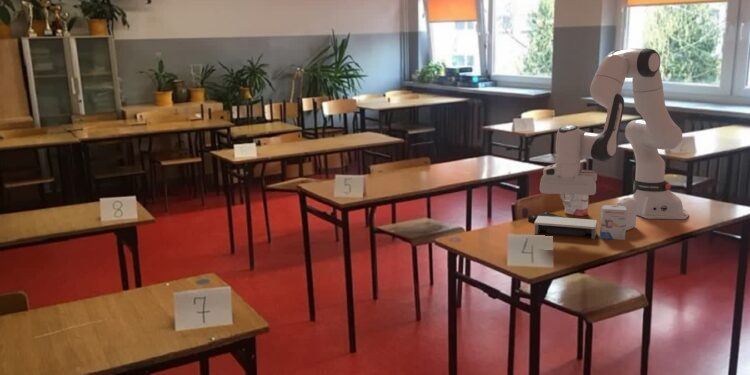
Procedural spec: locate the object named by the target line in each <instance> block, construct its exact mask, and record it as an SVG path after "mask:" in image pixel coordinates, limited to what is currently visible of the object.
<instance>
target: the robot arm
mask: <svg viewBox="0 0 750 375" xmlns="http://www.w3.org/2000/svg"><path fill="white" fill-rule="evenodd" d="M661 63H662V62H661V57H660V55H659V53H658V51H656V49H653V48H649V47H648V48H629V49H622V50H613V51H611V52H609V53H607V55H606V56H605V57H603V59H602V61H601V63H600V64H599V66H598V68H597V70H596V71H595V74H594V76H593V78H592V81H591V84H590V86H589V93H590V97H591V98H592V100H593V101H594V102H595V103H597V104H598V105H599V106H602V107H603V108H605V109H606V112H607V113H606V117H605V123H604V127H603V130H602V132H601V131H600V133H599V132H598V133H596V132H589V131H584V130H582V129H580V127H579V126H578V125H577V124H576V125H575V124H568V125H563V126H561V127H559V128H558V130H557V131H556V132H557V133H556V139H555V153H556V159H555V163H554V164H550V165H547V166H545V167H544V168H543V171H542V173H543V174H542V176H541V178H540V181H539V191H540V193H541V194H552V195H553V194H556V195H559V197H560V199H561V200H562V205H563V206H565V205H568V206H571V203H572V200H573V198H574V196H575V194H576V195H588V196H594V195H595V194H596V192H597V184H596V182H597V179H598V174H597V172H596V171H594V169H581V158H583V159H590V160H595V161H599V162H602V163H605V162H608V161H609V160H611V159H613V157H615V155H616V153H617V150H618V139H619V132H620V129H621V128H620V127H621V123H622V119H623V114H624V108H625V100H624V99H625V98H624V97H623V96H622V88H623V87H624V84H625V82H626V79H631V78H632V92H633V104H634V108H635V111H636V112H637V113H638V114H639V115H640V117H642V119H641V118H639V119H633V120H631V121H629V122H628V123H627V125H626V126H625V130H624V136H625V138H626V140H627V141H628V142H629V144H630V145H631V148H632V150H633V153H634V157H635V158H634V159H635V178H634V180H633V189H632V190H633V197H632V198H634V199H635V200H636V201H637V212H636V216H639V217H642V218H644V219H648V220H649V219H652V220H654V219H655V220H656V219H658V220H661V219H662V220H686V219H688V218H689V213H688V211H687V210H685V209H684V206H683V202H682V200H681V198H680V197H679V196H678V195H676V194H675V193H674V192H672V191H671V190H670V189H671V184H670V182H669V181H667V180H665V175H666V174H665V173H666V162H665V160H664V158H663V157H662V156H661V155H660V152H659V150H666V151H667V150H673V149H674V150H675V149H676V148H678V146H680V144H681V142H682V140H683V131H682V129H681V127H679V126H678V125H677V124H676V123H675V122H674V121H673V119H672V118H671V115H670V113H669V111H668V108H667V106H666V103H665V95H664V86H663V80H662V78H663V77H662V74H661V70H660V66H661ZM565 194H570V197H571V199H570V200H565Z"/></svg>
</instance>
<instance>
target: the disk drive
mask: <svg viewBox="0 0 750 375" xmlns="http://www.w3.org/2000/svg"><path fill="white" fill-rule="evenodd" d="M538 216H548V217H562V218H567V217H565V216H562V215H557V214H554V213H550V212H547V211H544V212H540V213H535V214H531V215H528V220H527V221H528V222H530V223H534V222H535V220H536V219H537V217H538Z"/></svg>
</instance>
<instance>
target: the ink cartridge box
mask: <svg viewBox="0 0 750 375" xmlns="http://www.w3.org/2000/svg"><path fill="white" fill-rule="evenodd" d="M564 198H565V200H570V199H571V197H570V194H565V195H564ZM564 214H567V215H568V214H569V215H573V216H577V217H584V216H587V215H588V214H589V195H576V194H575V196H574V198H573V200H572V203H571V206H568V205H564Z"/></svg>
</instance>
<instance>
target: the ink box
mask: <svg viewBox="0 0 750 375" xmlns="http://www.w3.org/2000/svg"><path fill="white" fill-rule="evenodd" d="M600 212H601V214H600V227H599V228H600V231H599V236H600V238H601V239H603V240H619V241H620V240H622V241H625V240H626V217H627V209H626V207H625V206H616V205H611V204H610V205H609V204H608V205H606V204H603V205H601V210H600Z"/></svg>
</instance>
